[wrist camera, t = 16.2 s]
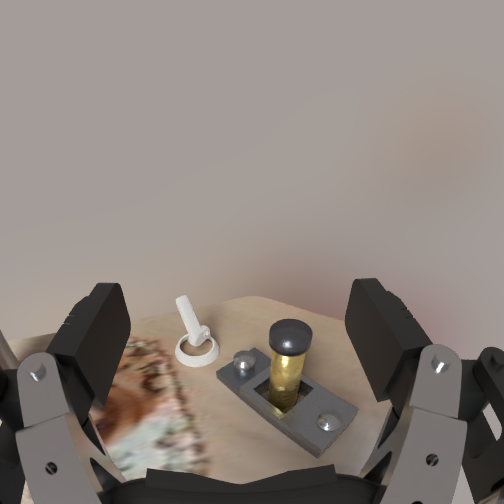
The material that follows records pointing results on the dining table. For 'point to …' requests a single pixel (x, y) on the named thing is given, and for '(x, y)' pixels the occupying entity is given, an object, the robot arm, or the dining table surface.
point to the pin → (287, 361)
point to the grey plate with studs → (301, 415)
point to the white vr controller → (194, 336)
